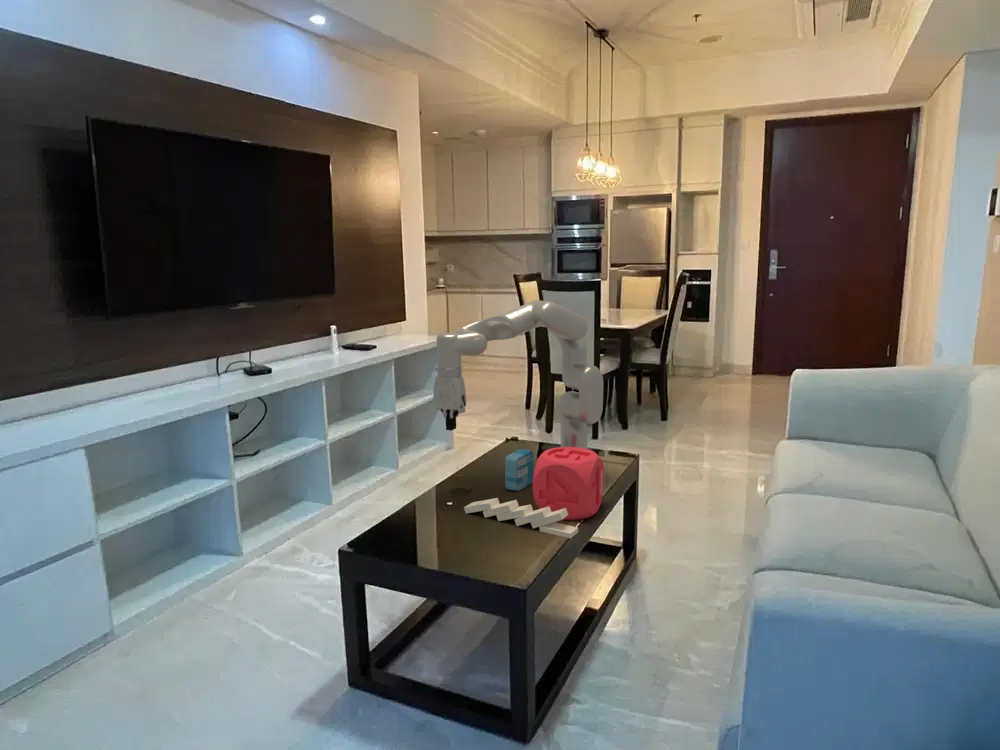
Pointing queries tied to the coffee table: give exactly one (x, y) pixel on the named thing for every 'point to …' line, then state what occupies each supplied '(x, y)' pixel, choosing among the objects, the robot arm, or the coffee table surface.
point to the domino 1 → (481, 505)
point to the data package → (519, 470)
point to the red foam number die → (569, 481)
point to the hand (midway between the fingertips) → (451, 429)
